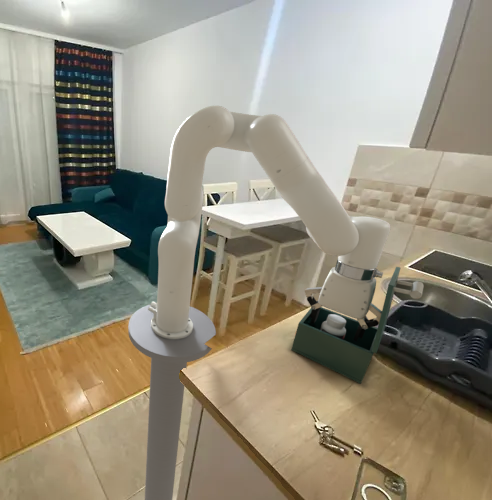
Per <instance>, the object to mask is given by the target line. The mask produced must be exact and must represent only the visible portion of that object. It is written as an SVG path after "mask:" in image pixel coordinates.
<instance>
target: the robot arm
mask: <svg viewBox="0 0 492 500" xmlns="http://www.w3.org/2000/svg"><path fill="white" fill-rule="evenodd" d="M214 148H222V149H228V150H234V151H238V152H245V153H252V154H253V156H254V157H255V159H256V161H257V162H258V164H259V165H260V166H261V168H262V170H263V171H264V173H265V175H266V176H267V177H268V179H269V181H270V182H271V183H272V185H273V186H274V188H275V190H276V191H277V192H278V194H279V196H281V198H282V200H284V201H285V202H286V203H287V205H288V206H290V208H291V209H292V210H293V211H294V212H295V214H296V215H297V216H298V217H299V219H300V220H301V222H302V223H303V225H304V226H305V230H306V233H307V235H308V236H309V238H310V239H311V240H312V241H313V242H314V244H315V245H316V246H317V247H318V248H319V250H320V251H322V252H323V253H324V254H325V255H328V256H332V257H337V259H336V262H335V266H334V267H333V266H332V267H331V269H330V271H329V272H328V274H327V276H326V278H325V280H324V282H323V285H322V286H316V287H306V288H305V290H304V294H305V296H306V301H307V302H308V304H309V305H310V309H312V311H311V314H310V318H312V320H311V323H315V321H316V320H317V318H318V315H319V311H320V307H322V308H325V309H328V310H331V311H333V312H336V313H339V314H341V315H344V316H347V317H349V318H352V319H355V320H358V322H359V326H358V329H357V331H356V334H355V337H354V339H353V340H354V341H356V342H357V340H358V338H362V337H363V335H364V332H365V330H366V329H367V328H370V327H378V325H379V321H380V317H381V313H382V309H380V308H378V306H376V305H375V304H374V303H373V300H374V297H375V292H376V287H377V279H376V278H380V279H382V278H383V275H384V271H381V270H379V268H378V266H379V263H380V260H381V257H382V254H383V252H384V249H385V248H386V247H385V246H386V244H387V242H388V238H389V236H390V233H391V228H392V227H391V223H389V222H388V221H387V220H384V219H381V218H378V217H373V216H364V215H363V216H361V215H360V216H353V215H349V213H348V212H347V210H346V209H345V208H344V206H343V205H342V203H341V202H340V199H338V197H337V196H336V195H335V193H334V192H333V190H332V189H331V188H330V186H329V185H328V184H327V182H326V181H325V179H324V178H323V176H322V174H321V173H320V172H319V171H318V169H317V168H316V167H315V165H314V163H313V162H312V160H311V159H310V157H309V156H308V154H307V152H306V151H305V150H304V148H303V147H302V145H301V143H300V141H299V140H298V138H297V136H296V135H295V133H294V131H293V130H292V129H291V127H290V125H289V124H288V123H287V121H286V120H285V119H284V118H283V117H282V116H281V115H279V114H274V113H269V114H268V113H267V114H264V115H258V114H257V115H256V114H250V113H249V114H248V113H243V112H242V113H241V112H236V111H235V112H234V111H230V110H228V109H227V108H226V107H224V106H222V105H208V106H206V107H203V108H200V109H199V110H197V111H196V112H194V113H192V114H191V115H189V116H188V117H187V118H186V119H185V120H184V121H183V122H182V123H181V125H180V126H179V128H178V129H177V130H176V131H175V134H174V137H173V139H172V143H171V147H170V153H169V161H168V171H167V177H166V178H167V179H166V188H165V189H166V190H165V196H164V209H165V211H166V214H167V224H166V228H165V229H163V232H162V234H161V235H160V238H159V241H158V246H157V257H158V269H157V270H158V271H157V272H158V273H157V297H156V302H155V301H151V303H150V304H149V305H150V306H151V307H149V308H148V310H149V311H150V312H152V313H153V314H154V316H153V318H152V320H151V328H152V330H153V331H154V332H155V333H156V334H157V335H159V336H161V337H163V338H166V339H182V338H185V337H187V336H189V335H190V334H191V332H192V330H193V323H192V321H191V319H190V318H189V308H190V306H191V297H192V287H193V279H194V269H195V268H194V267H195V257H196V256H195V255H196V250H197V249H196V248H197V245H198V239H199V235H200V229H201V221H202V213H203V205H204V200H205V199H204V198H205V197H204V196H205V195H204V189H203V180H204V175H205V166H206V165H205V164H206V160H207V157H208V155H209V153H210V152H211V150H212V149H214ZM313 294H319V296H318V299H316V298H315V296H314V295H313ZM369 311H370V312H371V313H372V314H373V315H374V316H375V317H374V318H370V319H369V317H368V316H367V315H368V313H369ZM386 320H387V321H388V318H386Z"/></svg>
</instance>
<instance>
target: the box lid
mask: <svg viewBox="0 0 492 500" xmlns="http://www.w3.org/2000/svg"><path fill="white" fill-rule="evenodd" d="M400 272H401V267H400V266H395V269H394V271H393V274H392V276H391V278H390V280H389V282H388V286H387V290H386V293H385V297H384V302H383V306H382V309H381V311H382V313H381V317H380V321H379V324H378V325H377V328H378V329H377V333H376V337H375V341H374V345H373V349H372V352H374V354H377V352H378V351H379V350H378V349H379V347H380V344H381V341H382V338H383V336H384V333H385V330H386V326H387V322H388V318H389V315H390V311H391V308H392V302H393V299H394V295H395V292H396V293H400V294H404V295H408V296H410V297H411V298H412V299H414V300H419V299H421V298H422V296H423V292H424V283H423V282H422V281H419V280H416V281H412V282H410V281H405V280H400V279H399V276H400ZM397 285H403V286H407V287H410V290H409V289H404V288H400V287H397ZM386 318H387V320H386Z"/></svg>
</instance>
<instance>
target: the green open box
mask: <svg viewBox="0 0 492 500" xmlns="http://www.w3.org/2000/svg"><path fill="white" fill-rule="evenodd" d="M311 311H312V309H311V308H310V309H309V310H308V311H307V312H306V313H305V315H303V316H302V318H301V319H300V321H299V322H298V324H297V328H296V332H295V335H294V339H293V342H292V346H291V349H290V350H291V351H292V352H295V353H297V354H299V355H301V356H303V357H304V358H307V359H309V360H310V361H313V362H315V363H317V364H319V365H321V366H323V367H325V368H328V369H329V370H331V371H333V372H335V373H338V374H339V375H341V376H344V377H346V378H348V379H349V380H352V381H354V382H357V383H358V384H360V385H361V384H362V383H363V380H364V378H365V375H366V373H367V371H368V368H369V366H370V363H371V361H372V358H373V356H374V354H375V353H374V352H372V349H373V345H374V341H375V337H376V333H377V329H378V327H377V326H374V327H370V328H367V329H366V330H365V332H364V335H363V337H362V338H358V340H357V342H356V341H354V340H353V339H354V337H355V334H356V331H357V329H358V326H359V322H358V320H357V319H356V318H353V317H350V316H347V315H344V314H342V313H339V312H336V311H334V310H331V309H328V308H326V307H323V306H322V307H320V311H319V315H318V318H317V320H316V321H315V323H311V320H312V318H310V314H311ZM330 314H335V315H338V316H341V317H343V318H344V319H345V320H346V324H345V329H346V334H345V337H344V340H342V339H340V338H338V337H335V336H333V335H331V334H328V333H326V332H323V331H321V330H320V328H321V325H322V323H323V322H324V321H327V317H328V315H330Z"/></svg>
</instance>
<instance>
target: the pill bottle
mask: <svg viewBox="0 0 492 500" xmlns="http://www.w3.org/2000/svg"><path fill="white" fill-rule="evenodd" d="M345 324H346V320H345V319H344V318H343V317H341V316H338V315H335V314H330V315H328V317H327V321H324V322H323V323H322V325H321V328H320V330H321V331H323V332H326V333H328V334H331V335H333V336H335V337H338V338H340V339H342V340H344V337H345V334H346V329H345Z"/></svg>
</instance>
